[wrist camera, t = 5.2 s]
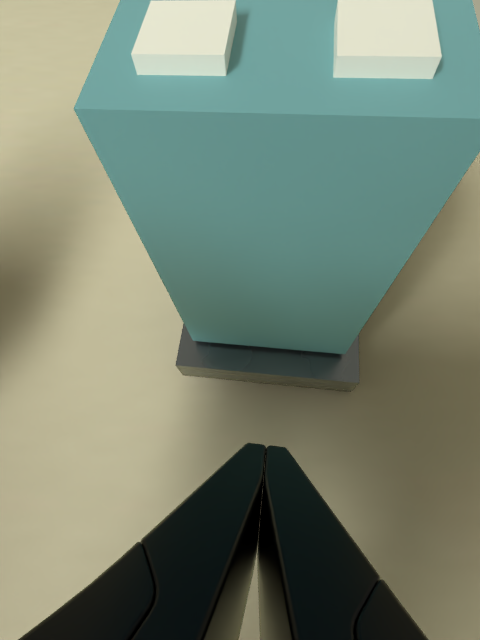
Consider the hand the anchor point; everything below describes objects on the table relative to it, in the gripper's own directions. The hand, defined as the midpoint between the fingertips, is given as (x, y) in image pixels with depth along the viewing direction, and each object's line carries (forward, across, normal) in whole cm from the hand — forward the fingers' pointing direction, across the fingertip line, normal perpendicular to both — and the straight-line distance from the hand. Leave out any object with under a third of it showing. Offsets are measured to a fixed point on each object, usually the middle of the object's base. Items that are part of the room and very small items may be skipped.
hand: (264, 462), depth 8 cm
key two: (+8, 0, 0) cm, 8 cm away
